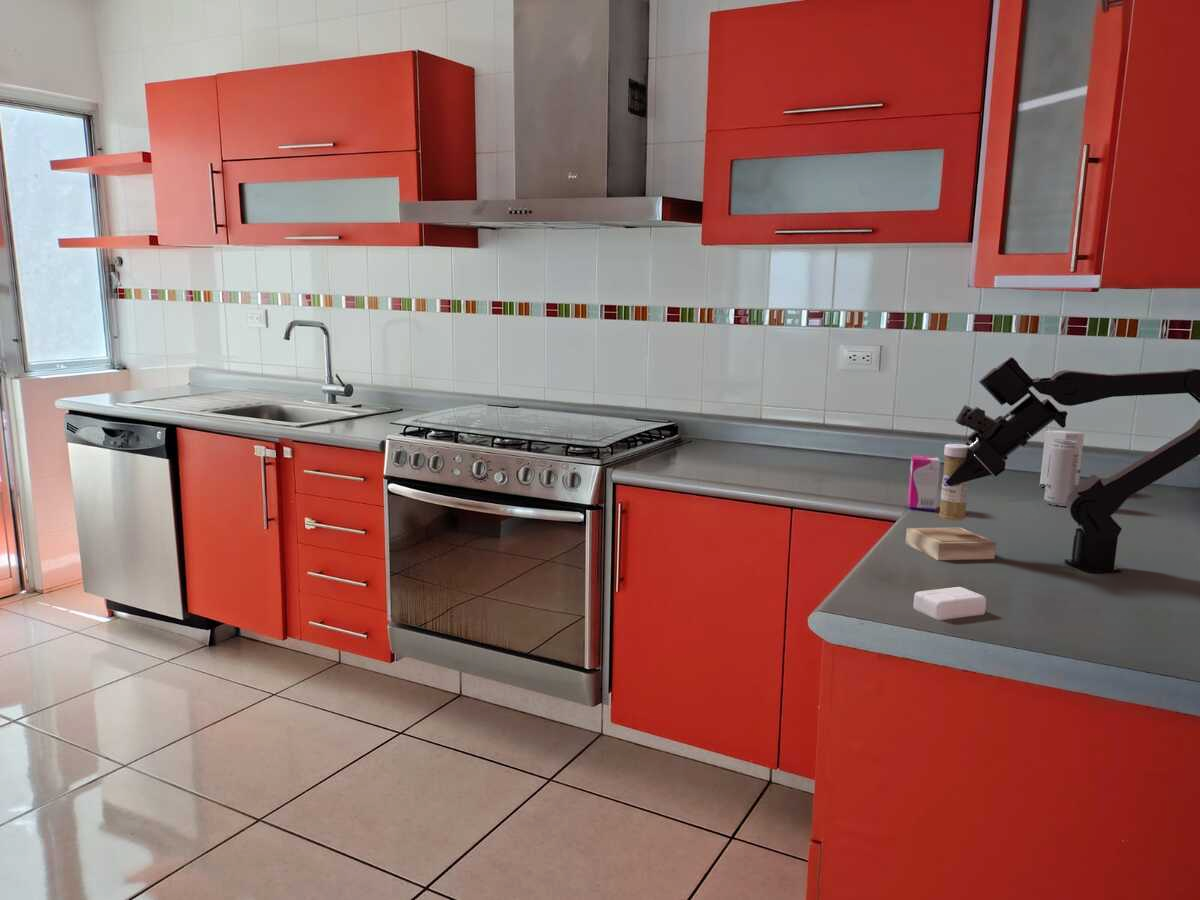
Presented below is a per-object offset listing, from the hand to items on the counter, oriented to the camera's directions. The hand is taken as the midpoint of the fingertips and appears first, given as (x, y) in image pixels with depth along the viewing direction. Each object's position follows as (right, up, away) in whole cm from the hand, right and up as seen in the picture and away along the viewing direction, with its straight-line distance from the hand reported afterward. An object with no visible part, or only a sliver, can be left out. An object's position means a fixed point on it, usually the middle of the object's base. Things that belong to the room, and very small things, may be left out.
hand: (947, 481), depth 161 cm
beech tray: (+1, -13, +1) cm, 13 cm away
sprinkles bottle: (+1, -7, +1) cm, 7 cm away
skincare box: (+54, -4, +67) cm, 86 cm away
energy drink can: (+44, -7, +47) cm, 65 cm away
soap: (-12, -18, -32) cm, 39 cm away
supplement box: (+9, -7, +38) cm, 40 cm away
